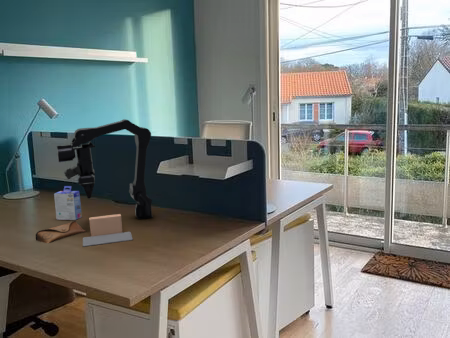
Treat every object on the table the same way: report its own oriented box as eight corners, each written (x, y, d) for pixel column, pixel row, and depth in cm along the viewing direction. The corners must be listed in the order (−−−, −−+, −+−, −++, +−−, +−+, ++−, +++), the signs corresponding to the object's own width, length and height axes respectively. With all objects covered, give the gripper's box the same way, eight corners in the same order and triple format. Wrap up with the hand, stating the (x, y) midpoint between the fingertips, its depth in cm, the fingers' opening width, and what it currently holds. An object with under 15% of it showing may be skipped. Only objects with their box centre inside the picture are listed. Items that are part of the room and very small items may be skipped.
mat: (130, 232, 177) (130, 231, 177) (132, 240, 167) (132, 239, 167) (83, 238, 172) (82, 237, 172) (82, 246, 162) (82, 246, 162)
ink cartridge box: (82, 216, 201) (79, 185, 199) (76, 220, 196) (73, 188, 193) (62, 216, 203) (59, 185, 201) (56, 220, 198) (52, 188, 195)
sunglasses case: (47, 243, 167) (40, 227, 168) (39, 249, 171) (33, 234, 172) (88, 230, 180) (82, 216, 181) (80, 236, 185) (74, 222, 186)
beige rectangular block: (121, 230, 180) (120, 213, 178) (122, 232, 177) (121, 215, 176) (91, 234, 176) (89, 217, 175) (91, 236, 173) (89, 219, 172)
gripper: (65, 158, 190) (70, 193, 193) (62, 165, 172) (67, 203, 175) (92, 155, 193) (96, 190, 196) (92, 161, 175) (97, 200, 178)
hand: (89, 195), depth 186 cm, fingers open, 9 cm apart
